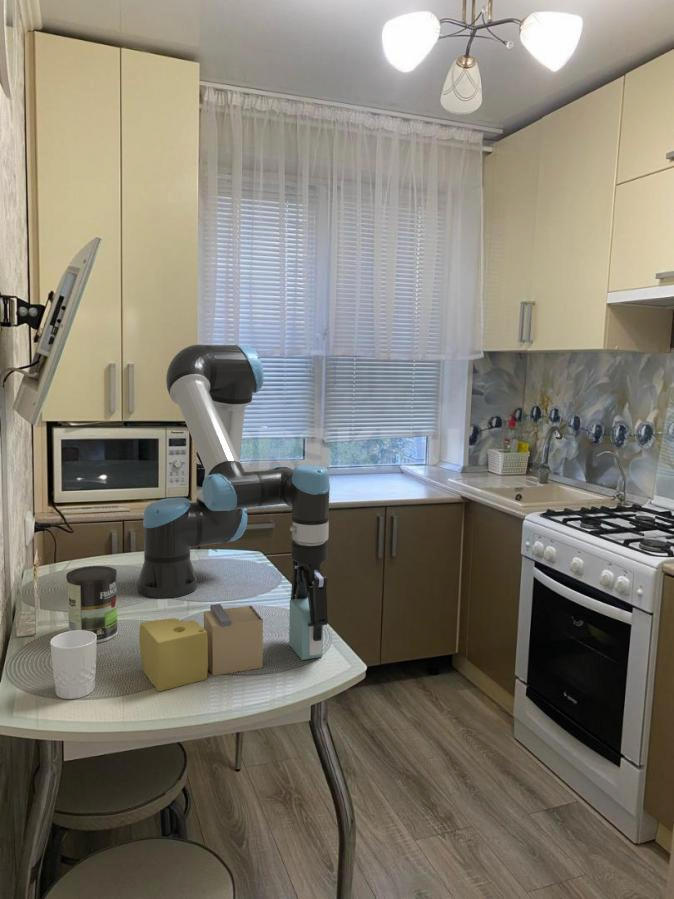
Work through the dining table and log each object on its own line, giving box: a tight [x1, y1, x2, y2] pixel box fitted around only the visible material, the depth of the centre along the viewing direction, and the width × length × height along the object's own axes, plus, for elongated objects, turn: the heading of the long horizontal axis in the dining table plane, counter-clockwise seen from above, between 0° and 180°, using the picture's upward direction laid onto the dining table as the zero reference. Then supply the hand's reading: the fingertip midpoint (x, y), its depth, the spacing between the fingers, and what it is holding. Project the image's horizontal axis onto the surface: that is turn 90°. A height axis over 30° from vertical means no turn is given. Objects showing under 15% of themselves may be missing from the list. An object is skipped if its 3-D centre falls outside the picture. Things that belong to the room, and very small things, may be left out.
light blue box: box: [288, 597, 324, 661], centre depth 143 cm, size 8×4×10 cm, turn 23°
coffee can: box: [65, 565, 119, 644], centre depth 148 cm, size 10×10×14 cm
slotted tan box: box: [203, 603, 264, 677], centre depth 137 cm, size 9×10×11 cm
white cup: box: [50, 630, 98, 700], centre depth 124 cm, size 8×8×10 cm
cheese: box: [138, 617, 209, 692], centre depth 131 cm, size 10×11×10 cm
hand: (307, 645), depth 144 cm, fingers closed on light blue box, 8 cm apart
